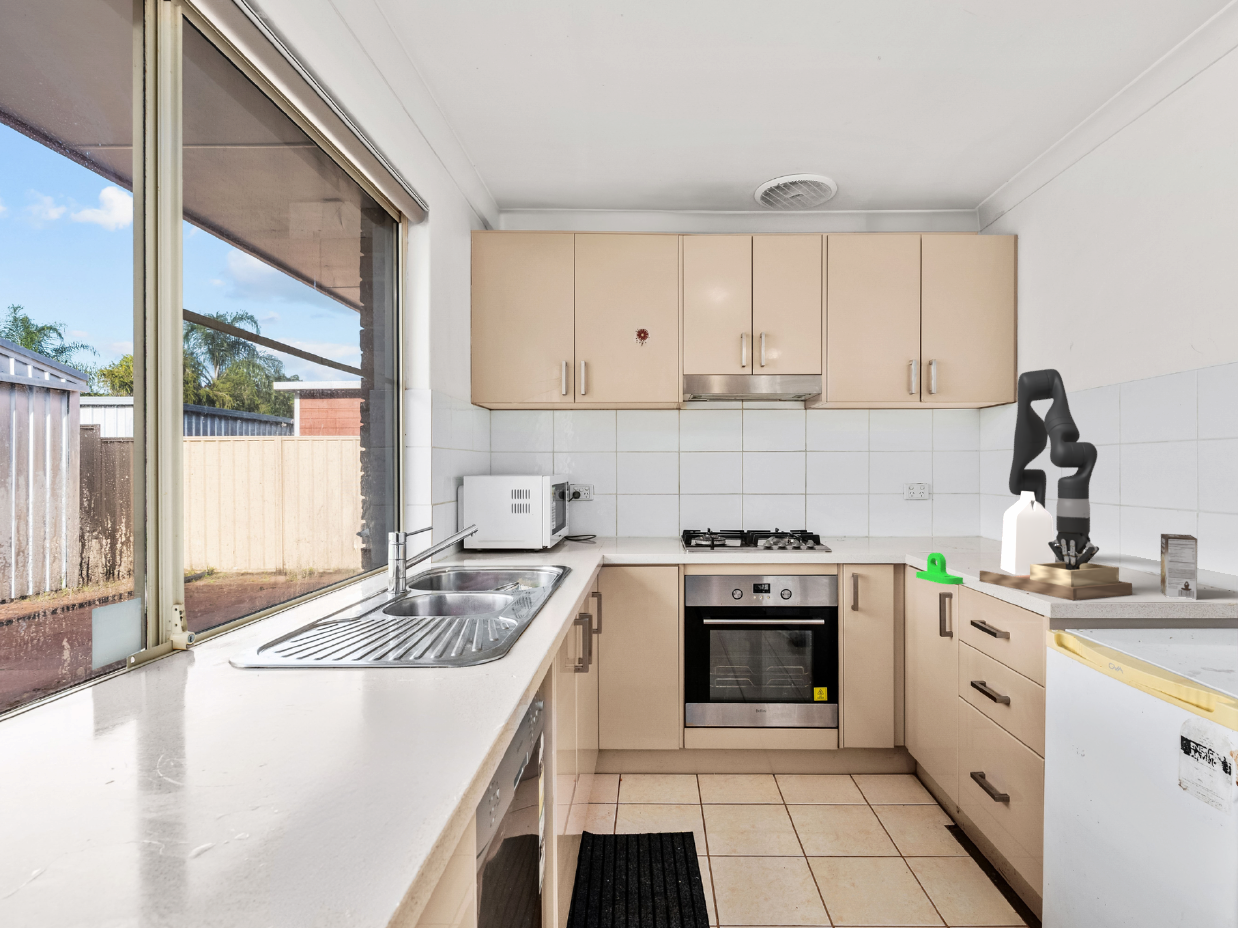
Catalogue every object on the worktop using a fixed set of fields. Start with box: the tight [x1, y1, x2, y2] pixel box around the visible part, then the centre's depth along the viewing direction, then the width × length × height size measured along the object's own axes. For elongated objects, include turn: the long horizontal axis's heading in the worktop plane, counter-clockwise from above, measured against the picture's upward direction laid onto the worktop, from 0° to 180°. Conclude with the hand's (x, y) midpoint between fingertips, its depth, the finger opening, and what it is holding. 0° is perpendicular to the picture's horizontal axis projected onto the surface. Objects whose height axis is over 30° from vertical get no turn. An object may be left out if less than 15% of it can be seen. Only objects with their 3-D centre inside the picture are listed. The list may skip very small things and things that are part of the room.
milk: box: [1000, 491, 1056, 576], centre depth 206 cm, size 12×12×26 cm
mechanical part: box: [915, 552, 964, 585], centre depth 192 cm, size 12×6×8 cm, turn 15°
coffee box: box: [1160, 533, 1198, 600], centre depth 170 cm, size 9×6×16 cm
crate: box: [1030, 561, 1120, 587], centre depth 175 cm, size 12×18×6 cm, turn 109°
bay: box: [979, 570, 1133, 601], centre depth 181 cm, size 28×22×3 cm
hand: (1072, 578), depth 175 cm, fingers closed
